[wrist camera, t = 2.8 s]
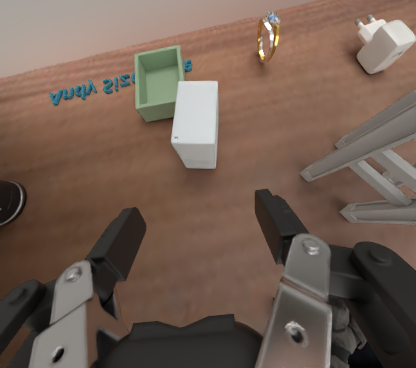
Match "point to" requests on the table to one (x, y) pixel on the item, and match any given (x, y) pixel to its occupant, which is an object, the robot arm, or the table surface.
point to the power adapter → (382, 43)
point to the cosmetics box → (196, 123)
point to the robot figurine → (343, 333)
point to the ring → (268, 23)
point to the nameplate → (57, 97)
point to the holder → (158, 82)
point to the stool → (381, 152)
